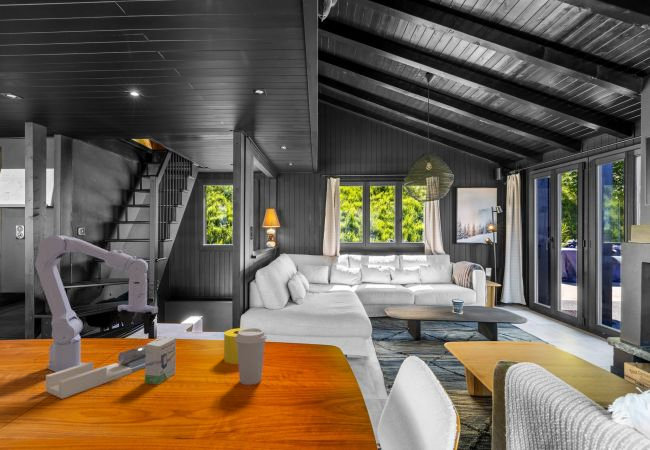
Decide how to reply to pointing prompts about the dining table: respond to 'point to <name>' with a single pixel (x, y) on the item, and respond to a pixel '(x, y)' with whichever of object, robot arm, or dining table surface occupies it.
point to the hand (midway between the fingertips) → (137, 332)
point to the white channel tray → (82, 378)
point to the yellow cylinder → (231, 346)
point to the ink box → (160, 360)
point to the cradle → (136, 364)
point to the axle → (132, 355)
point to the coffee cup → (250, 354)
